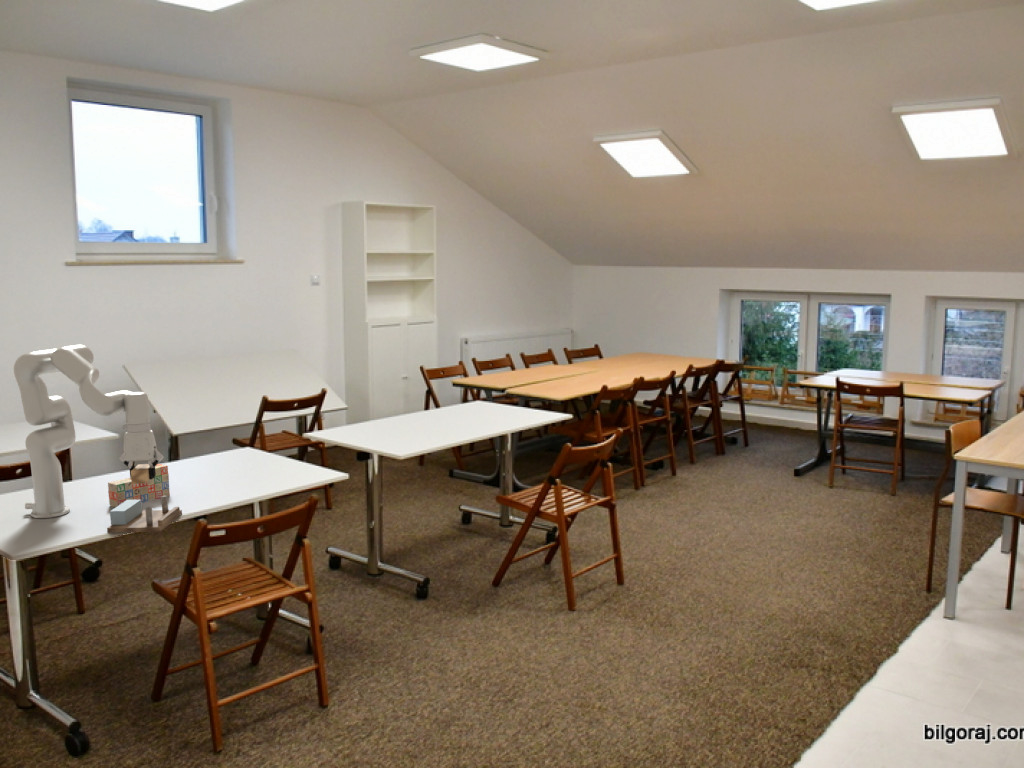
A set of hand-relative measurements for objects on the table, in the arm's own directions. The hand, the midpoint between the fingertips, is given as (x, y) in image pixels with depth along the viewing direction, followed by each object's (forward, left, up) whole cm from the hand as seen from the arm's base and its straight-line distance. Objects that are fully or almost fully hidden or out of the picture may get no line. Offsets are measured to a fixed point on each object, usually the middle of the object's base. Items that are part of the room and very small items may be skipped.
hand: (143, 478), depth 300 cm
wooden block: (0, 0, -1) cm, 1 cm away
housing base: (0, 0, -16) cm, 16 cm away
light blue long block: (-7, 0, -14) cm, 16 cm away
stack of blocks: (-14, +28, -16) cm, 36 cm away
